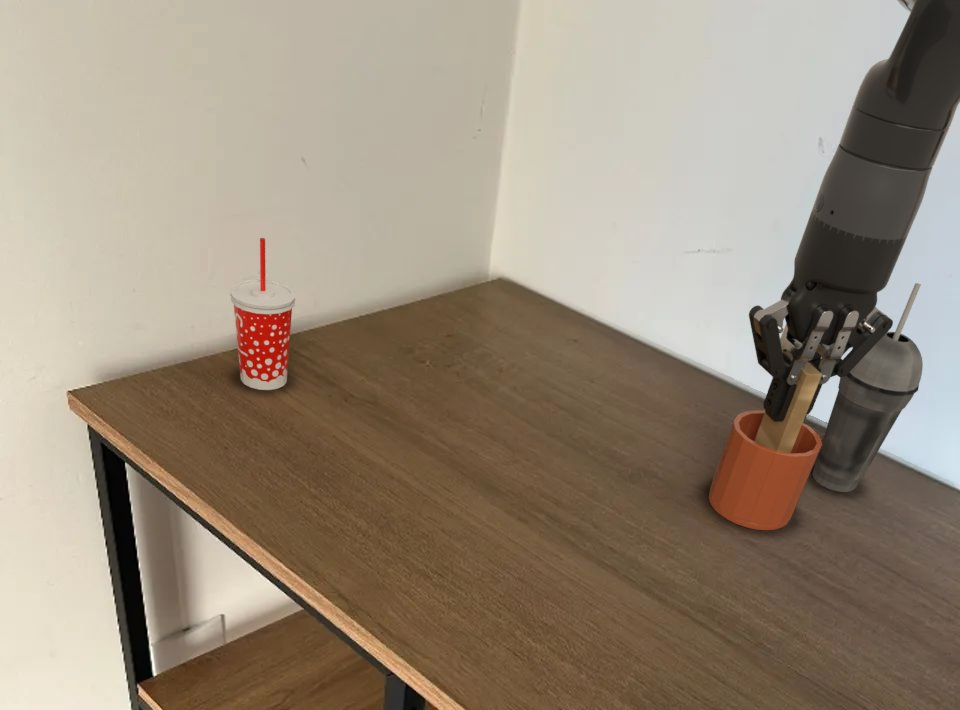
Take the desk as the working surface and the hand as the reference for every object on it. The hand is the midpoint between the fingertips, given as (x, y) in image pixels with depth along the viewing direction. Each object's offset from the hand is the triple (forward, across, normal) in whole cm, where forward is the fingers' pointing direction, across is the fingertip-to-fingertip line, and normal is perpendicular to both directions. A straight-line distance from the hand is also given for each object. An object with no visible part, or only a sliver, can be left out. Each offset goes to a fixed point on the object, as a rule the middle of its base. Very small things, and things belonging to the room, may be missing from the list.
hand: (784, 416), depth 86 cm
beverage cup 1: (+10, -42, +27) cm, 51 cm away
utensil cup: (+10, 0, 0) cm, 10 cm away
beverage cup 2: (+10, +12, +4) cm, 16 cm away
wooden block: (+9, 0, 0) cm, 9 cm away
